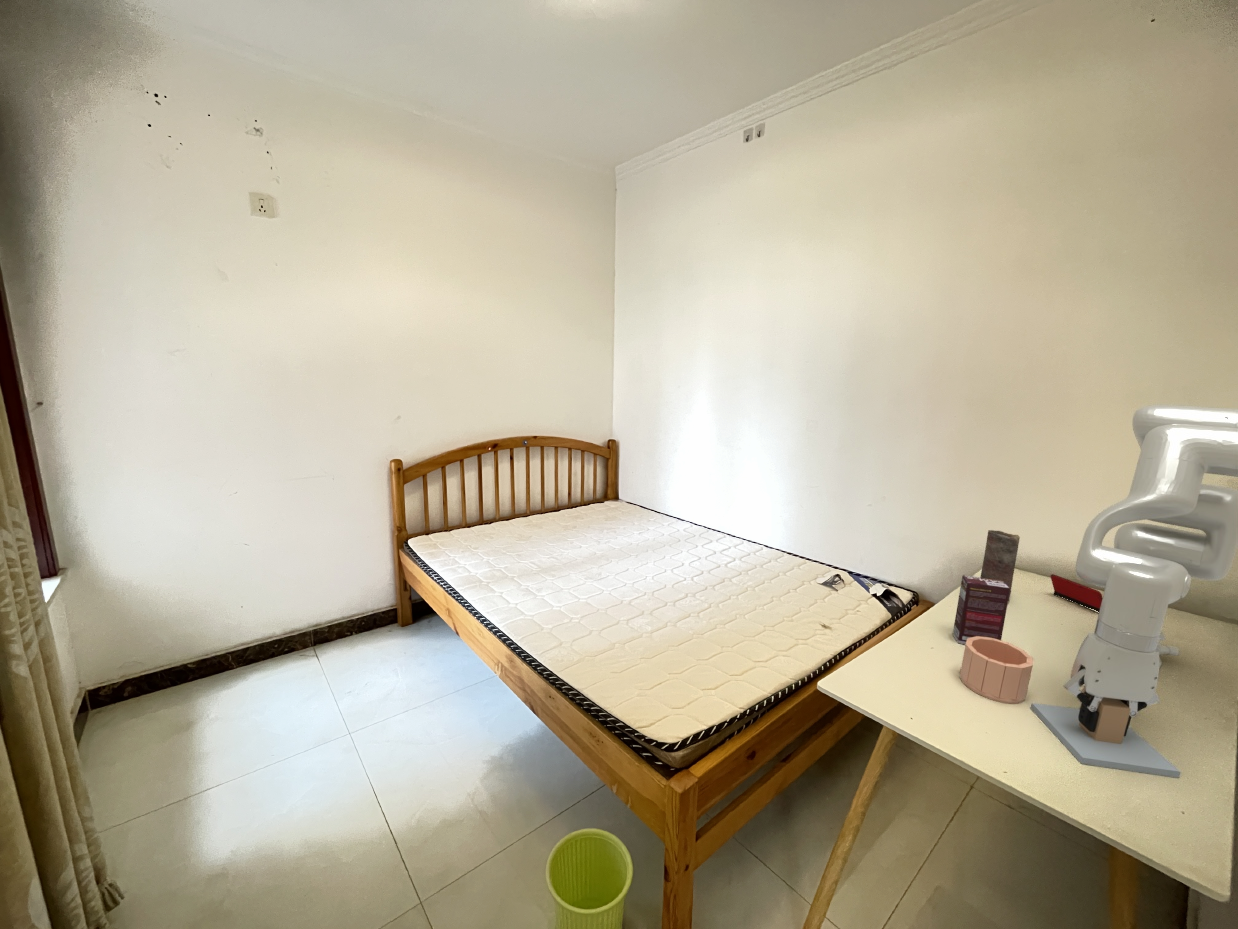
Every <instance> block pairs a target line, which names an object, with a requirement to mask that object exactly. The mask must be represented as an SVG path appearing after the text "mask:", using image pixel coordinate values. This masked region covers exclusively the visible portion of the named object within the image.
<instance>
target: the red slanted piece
mask: <svg viewBox="0 0 1238 929" xmlns="http://www.w3.org/2000/svg"><path fill="white" fill-rule="evenodd" d="M1050 579H1051V583H1052V586H1053V595H1054V594H1055V595H1057V596H1056V597H1058V596H1060V597H1063V598H1065V599H1068V600H1071V601H1073V602H1076V603H1078V604H1077V605H1079V604H1081V605H1083V606H1086V607H1088V608H1091V609H1094V610H1096V611H1098V612H1099V611H1100V607H1101V603H1102V599H1103V594H1102V593H1101V592H1100V591H1099V590H1097V589H1094V588H1092V587H1089V586H1088V585H1084V584H1080V583H1078V582H1076V581H1072V580H1070V579H1067V578H1064V577H1062V576H1059V575H1056V574H1050ZM1055 595H1054V596H1055ZM1060 597H1059V598H1060ZM1063 598H1062V599H1063ZM1065 599H1064V600H1065ZM1068 600H1067V601H1068ZM1073 602H1072V603H1073ZM1076 603H1075V604H1076ZM1081 605H1080V606H1081ZM1083 606H1082V607H1083Z"/></svg>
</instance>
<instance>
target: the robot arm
mask: <svg viewBox="0 0 1238 929" xmlns="http://www.w3.org/2000/svg"><path fill="white" fill-rule="evenodd" d="M1131 422H1132V431H1133V434H1134V436H1135V438H1136V441H1137V443H1138V446H1139V448H1140V451H1139V456H1138V459H1137V464H1136V467H1135V470H1134V475H1133V479H1132V482H1131V485H1130V490H1129V493H1128V495H1127V497H1125V498H1124V499H1122V500H1120V501H1118V502H1116V503H1114V504H1112V505H1110V506H1108V507H1107V508H1105V509H1103V510H1102V511H1101V512H1099V513H1098V514H1096V516H1094V518H1093V519H1092V520H1091V521H1090V522H1089V523H1088V525H1087V527H1086V528H1085V531H1084V533H1083V537H1082V540H1081V544H1080V545H1079V546H1080V547H1079V550H1078V552H1077V557H1076V560H1075V573H1076V576H1077V577H1078V578H1079V579H1080V580H1081V581H1082V582H1084V583H1086V584H1090V585H1092V586H1096V587H1099V588H1102V589H1104V591H1103V594H1102V598H1103V599H1102V603H1101V607H1100V611H1099V613H1098V617H1097V619H1096V622H1095V628H1094V631H1093V633H1092V632H1088V634H1087V635H1086V636H1085V637H1084V639H1083V641H1082V643H1081V645H1080V646H1079V648H1078V651H1077V654H1076V657H1075V659H1074V660H1073V661H1074V662H1073V664H1072V667H1071V668H1072V669H1071V673H1070V678H1069V679H1068V680H1066V682H1064V683H1063V685H1062V686H1063V688H1064V689H1065V690H1066V691H1068V692H1069V693H1070V694H1072V695H1073V696H1075V697H1076V699H1077V700H1078V701H1079V702H1080V703H1081V704H1080V708H1079V709H1080V712H1079V716H1078V719H1079V722H1080V723H1081V724H1082V725H1083V726H1085V727H1086V728H1087V729H1088V730H1089V731H1090V732H1094V731H1095V729H1096V725H1097V721H1098V717H1099V713H1098V712H1097V711H1096V710H1097V708H1098V706H1099V704H1100V702H1101V700H1102V699H1103V697H1105V698H1113V699H1119V700H1121V701H1122V702H1123V703H1124V704H1125V705H1127V706H1128V707H1129V708H1130V709H1131V711H1130V714H1129V718H1128V722H1127V725H1126V729H1125V733H1124V736H1126V734H1127V730H1128V727H1130V723H1131V719H1132V718H1135V717H1136V716H1137V715H1138V712H1140V711H1141V710H1144V709H1145V708H1147V706H1148V707H1149V706H1152V705H1155V704H1159V703H1160V697H1159V695H1158V694H1157V692H1156V690H1157V689H1156V688H1157V684H1158V682H1159V681H1158V679H1159V674H1160V668H1161V666H1162V660H1161V658H1160V656H1162V655H1166V656H1167V655H1168V656H1178V655H1180V650H1179V648H1178V647H1177V646H1171V645H1163V642H1161V641H1165V639H1166V635H1165V634H1164V633H1163V632H1162V629H1163V626H1164V622H1165V619H1166V614H1167V610H1168V608H1169V605H1170V604H1173V603H1176V602H1177V601H1179V600H1180V599H1181V598H1182V599H1183V598H1185V597H1186V596H1187V594H1188V592H1189V590H1190V588H1191V582H1192V578H1194V579H1197V580H1204V581H1209V582H1216V581H1220V580H1223V579H1224V578H1226V577H1227V576H1228V574H1229V573H1230V570H1231V569H1232V566H1233V563H1234V559H1235V556H1236V553H1237V550H1238V489H1236V488H1235V489H1234V488H1231V487H1228V486H1227V487H1226V486H1222V485H1213V484H1204V483H1203V479H1204V475H1205V474H1211V475H1219V476H1228V477H1234V478H1235V477H1236V478H1238V408H1225V407H1212V406H1211V407H1209V406H1208V407H1207V406H1196V405H1195V406H1194V405H1181V404H1180V405H1179V404H1151V405H1144V406H1141V407H1139V408H1137V410H1136V411H1135V412H1134V413H1133V416H1132V421H1131ZM1144 520H1147V521H1149V522H1150V521H1152V522H1156V523H1160V524H1165V525H1171V526H1178V527H1181V528H1182V527H1183V528H1189V529H1193V530H1197V531H1198V530H1199V531H1202V532H1203V533H1200V532H1194V531H1189V530H1183V529H1178V528H1173V527H1169V526H1162V525H1157V524H1151V523H1145V522H1144V523H1141V522H1137V521H1144ZM1118 526H1120V527H1119V528H1117V530H1116V532H1115V535H1114V539H1113V540H1114V541H1113V547H1111V546H1106V545H1102V544H1103V541H1104V539H1105V537H1106V535H1107V534H1108V532H1110V531H1111V530H1113V528H1115V527H1118ZM1081 687H1082V689H1081V690H1080V688H1081ZM1091 695H1092V697H1091V699H1090V700H1089V698H1090V696H1091Z"/></svg>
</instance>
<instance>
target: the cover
mask: <svg viewBox="0 0 1238 929" xmlns="http://www.w3.org/2000/svg"><path fill="white" fill-rule="evenodd" d="M1091 697H1092V695H1091V696H1090V698H1089V700H1090V699H1091ZM1030 703H1031V704H1030V706H1029V708H1030V710H1031V711H1032V712H1033V713H1034V714H1035V715H1036V716H1037V717H1038V718H1039V720H1041V722H1042V723H1043V724H1044V725H1045V726H1046V727H1047V728H1048V730H1050V731H1051V733H1053V735H1054V736H1055V738H1057V739H1058V740H1059V741H1060V742H1061V744H1063V745H1064V747H1065V748H1066V749H1067V750H1068V751H1069V752H1070V753H1071V755H1073V756H1074V757H1075V759H1077V761H1078V762H1079V763H1080V764H1081V765H1087V766H1094V767H1099V768H1100V767H1101V768H1106V769H1107V768H1108V769H1115V770H1121V771H1122V770H1123V771H1128V772H1136V773H1140V774H1141V773H1143V774H1149V775H1155V776H1156V775H1157V776H1162V777H1169V778H1170V777H1171V778H1176V779H1179V778H1180V776H1181V774H1182V772H1181V770H1179V769H1178V768H1177V766H1175V765H1173V764H1172V763H1171V762H1170V761H1169V760H1168V759H1167V758H1166V757H1165V756H1164V755H1163V754H1161V753H1160V752H1159V751H1158V750H1157V749H1156V748H1154V747H1153V746H1152V745H1151V744H1150V743H1148V741H1146V740H1145V739H1144V738H1143V737H1142V736H1141V735H1140V734H1139V733H1137V732H1136V731H1135V730H1134V729H1133V728H1132V727H1131V726H1129V727H1128V730H1127V734H1126V736H1124V733H1125V729H1126V725H1127V722H1128V718H1129V714H1130V711H1131V709H1130V708H1129V707H1128V706H1127V705H1125V704H1124V703H1123V702H1122V701H1121V700H1119V699H1113V698H1105V697H1103V699H1102V700H1101V702H1100V704H1099V706H1098V708H1097V710H1096V711H1097V712H1098V713H1099V717H1098V721H1097V725H1096V729H1095V731H1094V732H1090V731H1089V730H1088V729H1087V728H1086V727H1085V726H1083V725H1082V724H1081V723H1080V722H1079V719H1078V716H1079V712H1080V708H1077V707H1076V708H1075V707H1067V706H1061V705H1060V706H1059V705H1052V704H1044V703H1043V704H1042V703H1037V702H1030Z"/></svg>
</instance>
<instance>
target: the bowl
mask: <svg viewBox="0 0 1238 929" xmlns="http://www.w3.org/2000/svg"><path fill="white" fill-rule="evenodd" d="M964 646H965V647H964V650H963V656H962V661H961V667H960V672H959V678H960V680H961V682H962V684H963V685H964V686H966V687H967V688H968V689H969V690H971V691H972V692H975V694H977V695H979V696H982V697H983V698H985V699H989V700H991V701H995V702H998V703H1002V704H1010V705H1011V704H1020V703H1023V702H1024V701H1025V700H1026V698H1027V694H1028V689H1029V686H1030V680H1031V676H1032V672H1033V671H1032V670H1033V666H1034V658H1033V657H1032V656H1031V655H1030V654H1029V653H1028V652H1027V651H1025V650H1024V649H1022V648H1020V647H1019V646H1017V645H1014V644H1012V643H1009V642H1007V641H1003V640H1002V639H1001V640H998V639H994V638H989V637H980V636H976V637H971V638H968V639H967V641H966V645H965V644H964Z"/></svg>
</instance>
